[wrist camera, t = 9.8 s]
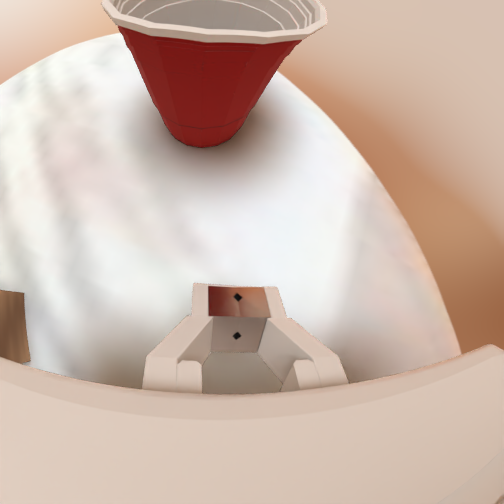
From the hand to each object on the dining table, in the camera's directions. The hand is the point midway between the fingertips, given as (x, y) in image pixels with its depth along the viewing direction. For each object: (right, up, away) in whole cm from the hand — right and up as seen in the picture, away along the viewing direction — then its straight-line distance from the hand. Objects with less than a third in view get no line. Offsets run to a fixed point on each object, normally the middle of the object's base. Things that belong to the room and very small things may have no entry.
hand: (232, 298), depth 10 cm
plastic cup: (-3, +12, +9) cm, 15 cm away
